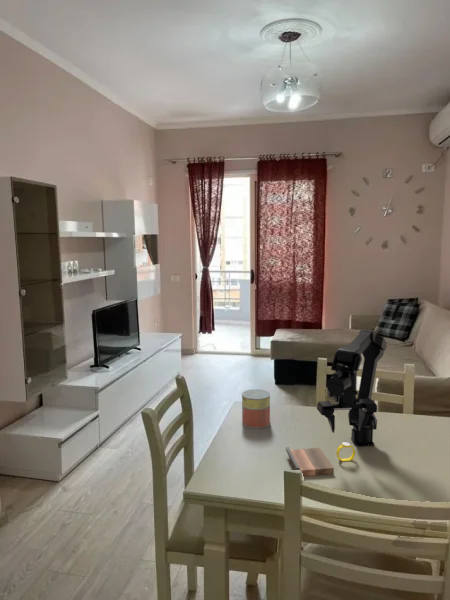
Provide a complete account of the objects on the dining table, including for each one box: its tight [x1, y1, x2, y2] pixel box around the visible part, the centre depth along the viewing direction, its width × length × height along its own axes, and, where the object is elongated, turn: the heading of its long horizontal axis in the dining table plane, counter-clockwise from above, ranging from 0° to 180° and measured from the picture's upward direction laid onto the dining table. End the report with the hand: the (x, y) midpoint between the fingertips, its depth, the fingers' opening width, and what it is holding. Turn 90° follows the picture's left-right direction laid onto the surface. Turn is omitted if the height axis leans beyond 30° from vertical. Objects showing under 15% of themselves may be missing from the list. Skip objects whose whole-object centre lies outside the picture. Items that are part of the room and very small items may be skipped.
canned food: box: [241, 388, 271, 429], centre depth 184 cm, size 11×11×12 cm
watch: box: [336, 441, 356, 462], centre depth 153 cm, size 6×3×6 cm, turn 96°
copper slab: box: [285, 446, 335, 477], centre depth 151 cm, size 12×14×3 cm
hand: (346, 431), depth 152 cm, fingers open, 9 cm apart
